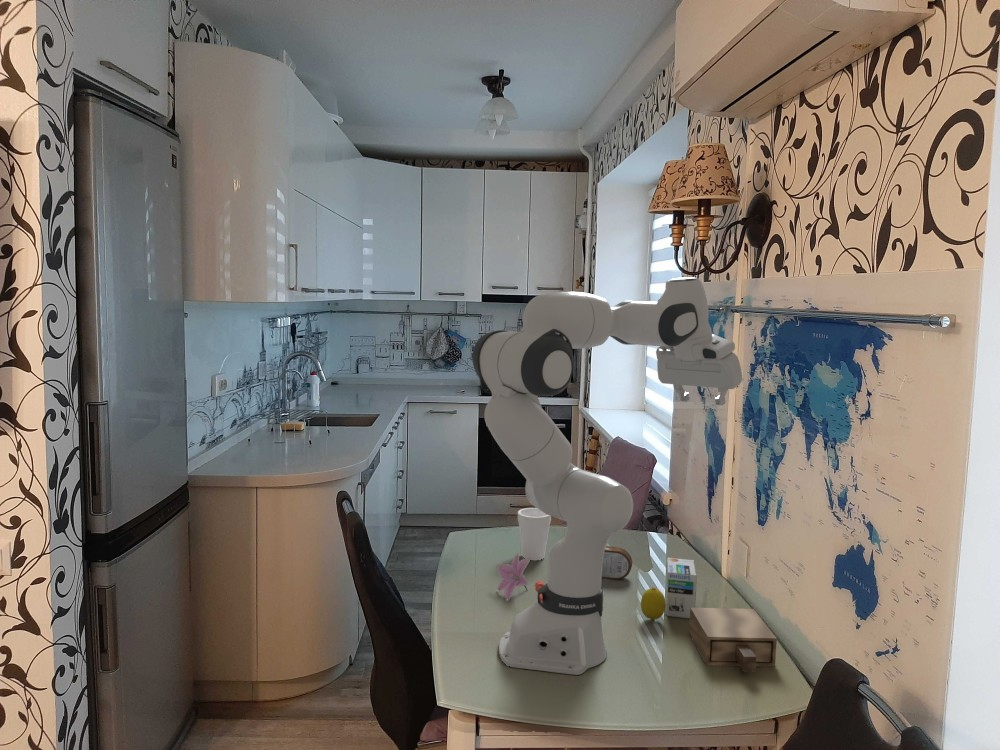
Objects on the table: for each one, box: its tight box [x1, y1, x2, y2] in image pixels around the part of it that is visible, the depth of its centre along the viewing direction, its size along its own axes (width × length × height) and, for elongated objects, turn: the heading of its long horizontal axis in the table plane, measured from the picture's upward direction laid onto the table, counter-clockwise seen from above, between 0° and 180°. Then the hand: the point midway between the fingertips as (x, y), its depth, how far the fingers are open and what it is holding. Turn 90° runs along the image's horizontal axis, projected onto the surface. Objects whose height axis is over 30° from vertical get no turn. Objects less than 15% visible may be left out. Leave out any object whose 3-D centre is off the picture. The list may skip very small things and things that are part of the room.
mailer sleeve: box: [688, 607, 778, 667], centre depth 156 cm, size 14×14×6 cm
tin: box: [601, 545, 633, 581], centre depth 195 cm, size 15×3×8 cm, turn 77°
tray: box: [710, 640, 771, 672], centre depth 153 cm, size 12×18×4 cm, turn 0°
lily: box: [496, 552, 531, 601], centre depth 183 cm, size 12×12×10 cm
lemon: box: [640, 587, 666, 622], centre depth 169 cm, size 6×6×8 cm
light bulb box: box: [665, 557, 698, 619], centre depth 175 cm, size 11×7×11 cm, turn 168°
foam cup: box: [517, 507, 552, 561], centre depth 208 cm, size 10×9×13 cm
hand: (702, 402), depth 169 cm, fingers open, 8 cm apart
